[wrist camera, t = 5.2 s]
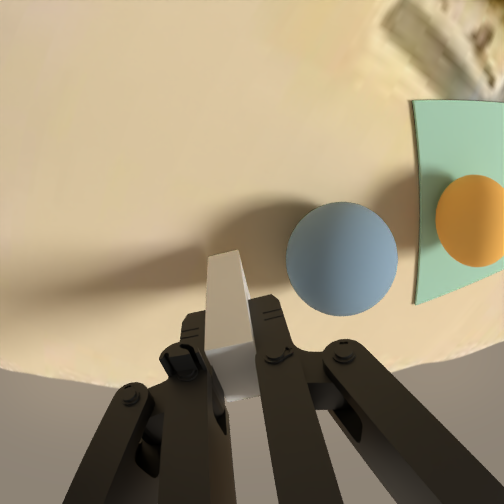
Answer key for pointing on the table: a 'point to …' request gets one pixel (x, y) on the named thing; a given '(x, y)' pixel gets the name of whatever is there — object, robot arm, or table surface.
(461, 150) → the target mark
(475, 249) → the orange ball
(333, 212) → the blue ball
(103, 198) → the table surface
